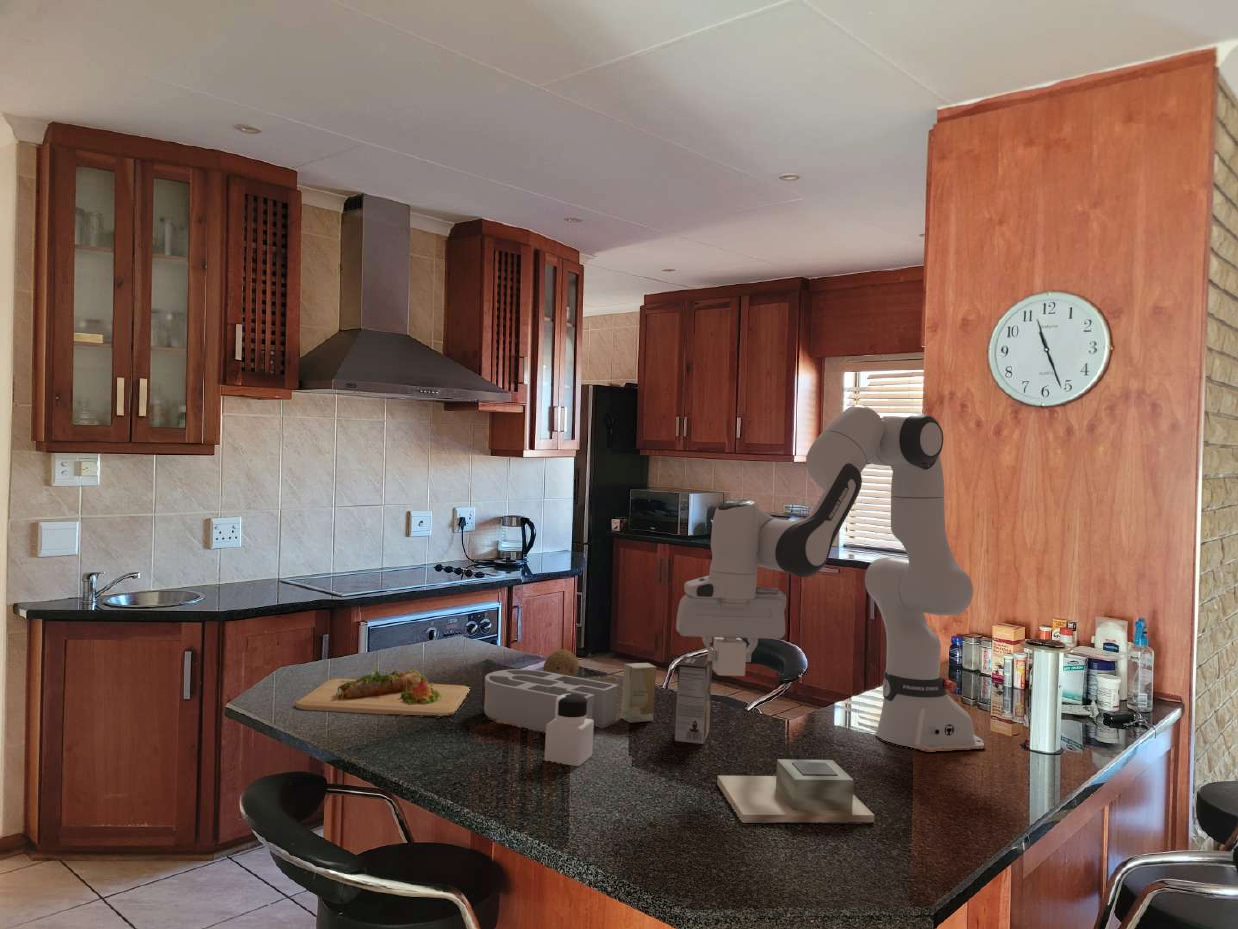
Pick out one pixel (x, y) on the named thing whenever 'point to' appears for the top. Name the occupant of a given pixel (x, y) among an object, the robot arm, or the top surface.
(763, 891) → the top surface
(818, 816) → the display stand
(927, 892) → the top surface
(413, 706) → the cutting board
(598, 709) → the grey compartment organizer
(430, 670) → the top surface
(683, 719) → the food carton
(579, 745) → the medicine bottle
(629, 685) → the skincare box
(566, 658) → the natural sponge
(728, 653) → the building block
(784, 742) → the top surface
